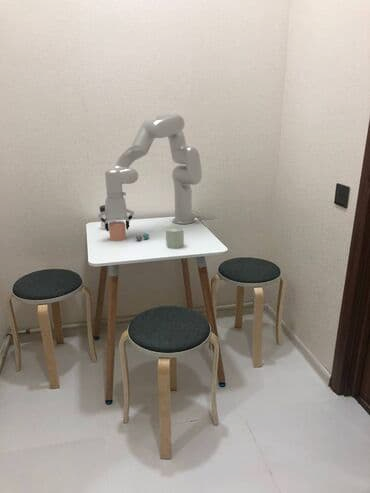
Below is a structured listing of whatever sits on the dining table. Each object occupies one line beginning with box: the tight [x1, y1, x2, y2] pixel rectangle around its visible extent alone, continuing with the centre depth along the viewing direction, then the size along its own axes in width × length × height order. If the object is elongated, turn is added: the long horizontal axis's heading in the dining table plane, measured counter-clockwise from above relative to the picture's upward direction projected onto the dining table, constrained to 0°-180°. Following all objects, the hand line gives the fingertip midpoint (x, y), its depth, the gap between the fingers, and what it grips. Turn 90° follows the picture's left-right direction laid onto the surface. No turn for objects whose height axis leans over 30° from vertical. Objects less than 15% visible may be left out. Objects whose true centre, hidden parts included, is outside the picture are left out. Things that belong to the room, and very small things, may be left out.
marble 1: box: [135, 234, 143, 242], centre depth 191 cm, size 3×3×3 cm
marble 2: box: [142, 232, 150, 240], centre depth 193 cm, size 3×3×3 cm
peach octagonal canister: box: [108, 220, 127, 242], centre depth 194 cm, size 8×8×8 cm
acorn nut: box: [165, 226, 185, 249], centre depth 182 cm, size 8×8×8 cm
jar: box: [99, 204, 117, 231], centre depth 212 cm, size 9×8×12 cm
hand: (117, 229), depth 194 cm, fingers open, 9 cm apart
